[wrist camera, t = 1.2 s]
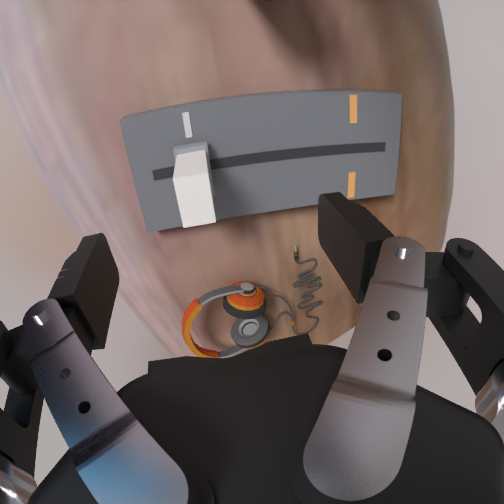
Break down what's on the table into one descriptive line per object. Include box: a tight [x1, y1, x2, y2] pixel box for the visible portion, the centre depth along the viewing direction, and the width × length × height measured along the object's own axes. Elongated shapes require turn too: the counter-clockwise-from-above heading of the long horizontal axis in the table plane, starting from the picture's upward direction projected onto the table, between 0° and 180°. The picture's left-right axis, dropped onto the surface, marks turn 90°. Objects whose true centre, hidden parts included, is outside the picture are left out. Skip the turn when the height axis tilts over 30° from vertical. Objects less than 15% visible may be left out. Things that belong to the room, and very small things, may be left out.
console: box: [120, 90, 402, 232], centre depth 30 cm, size 12×28×2 cm, turn 95°
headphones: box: [182, 246, 323, 358], centre depth 41 cm, size 17×5×20 cm
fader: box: [173, 141, 216, 228], centre depth 25 cm, size 5×3×7 cm, turn 5°
